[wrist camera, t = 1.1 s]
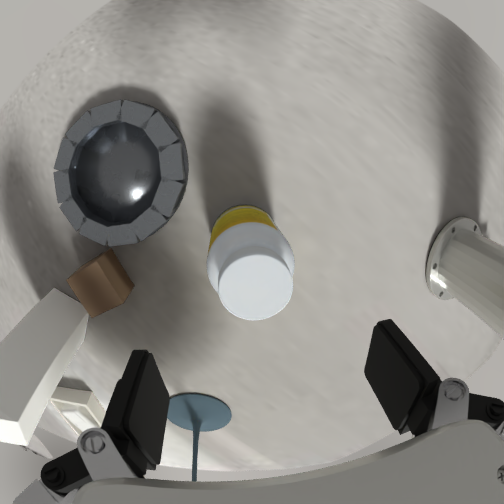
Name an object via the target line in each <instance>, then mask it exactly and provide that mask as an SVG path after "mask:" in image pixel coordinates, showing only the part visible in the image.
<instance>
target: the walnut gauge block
mask: <svg viewBox="0 0 504 504" xmlns="http://www.w3.org/2000/svg"><path fill="white" fill-rule="evenodd" d="M66 281H67V282H68V284H69V286H70V287H71V289H72V290H73V292H74V293H75V295H76V296H77V298H78V299H79V301H80V302H81V304H82V305H83V307H84V308H85V309H86V311H87V312H88V314H89V315H90V316H91V318H93V317H95V316H97V315H100V314H102V313H104V312H106V311H108V310H110V309H112V308H114V307H117V306H119V305H121V304H123V303H124V302H125V300H126V298H127V297H128V295H129V294H130V292H131V290H132V289H133V287H134V284H133V283H132V281H131V280H130V278H129V277H128V275H127V273H126V272H125V270H124V269H123V267H122V265H121V264H120V262H119V260H118V259H117V257H116V255H115V254H114V252H113V250H112V248H110V249H109V250H107V251H105V252H104V253H102V254H100V255H99V256H97V257H96V258H94V259H92V260H91V261H89V262H87V263H86V264H84V265H83V266H81V267H80V268H79V269H78V270H77V271H76V272H75V273H74V274H72V275H71V276H70V277H69V278H68V279H67V280H66Z"/></svg>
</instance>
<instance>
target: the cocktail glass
mask: <svg viewBox="0 0 504 504" xmlns="http://www.w3.org/2000/svg"><path fill="white" fill-rule="evenodd" d="M167 418H168V419H169V420H170V421H171V422H172V423H174V424H175V425H177V426H179V427H181V428H184V429H188V430H192V431H193V464H192V481H197V455H198V440H199V432H200V431H213V430H217V429H220V428H222V427H224V426H226V425H227V424H228V423H229V422H230V420H231V411H230V409H229V407H228V406H227V405H226V404H224V403H223V402H222V401H220V400H218V399H216V398H213V397H210V396H206V395H201V394H182V395H178V396H175V397H172V398H170V403H169V409H168V415H167Z"/></svg>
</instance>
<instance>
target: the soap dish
mask: <svg viewBox="0 0 504 504" xmlns="http://www.w3.org/2000/svg"><path fill="white" fill-rule="evenodd" d="M50 402H51V403H52V404H53V406H54V407H55V408H56V410H57V411H58V412H59V414H60V415H61V416H62V417H63V419H64V420H65V421H66V422H67V423H68V425H69V426H70V427H71V428H72V429H73V430H74V432H75V433H76V434H77V435H78V436H79V435H80V434H81V433H82V431H81V430H80V429H79V428H78V427H77V426H75V425H74V424H73V423H72V422H71V421H70V420H69V419H68V418H67V417H65V416H64V415H63V414H62V412H61V408H62V406H63V404H64V403H67V404H72V405H78V406H83V407H86V409H87V410H88V411H89V413H90V414H91V415H92V417H93V418H94V419H95V421H96V422H97V423H98V425H99V426H100V427H101V425H102V422H103V420H104V417H105V414H106V412H105V410H104V409H103V407H102V406H101V404H100V403H99V401H98V400H97V398H96V397H95V395H94V393H93V392H92V391H84V390H77V389H71V388H65V387H59V386H57V387H56V389H55V391H54V392H53V394H52V396H51V398H50Z"/></svg>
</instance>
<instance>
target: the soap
mask: <svg viewBox="0 0 504 504" xmlns="http://www.w3.org/2000/svg"><path fill="white" fill-rule="evenodd" d="M61 412H62V414H63V415H64V416H65V417H67V418H68V419H69V420H70V421H71V422H72V423H73V424H74V425H75V426H77V427H78V428H79V429H80V430H81V431H82V432H83V431H85V430H86V429H89V428H101V427H100V426H99V425H98V423H97V422H96V421H95V419H94V418H93V417H92V415H91V414H90V413H89V411H88V410H87V409H86V407H83V406H78V405H72V404H67V403H64V404H63V406H62V408H61Z"/></svg>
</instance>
